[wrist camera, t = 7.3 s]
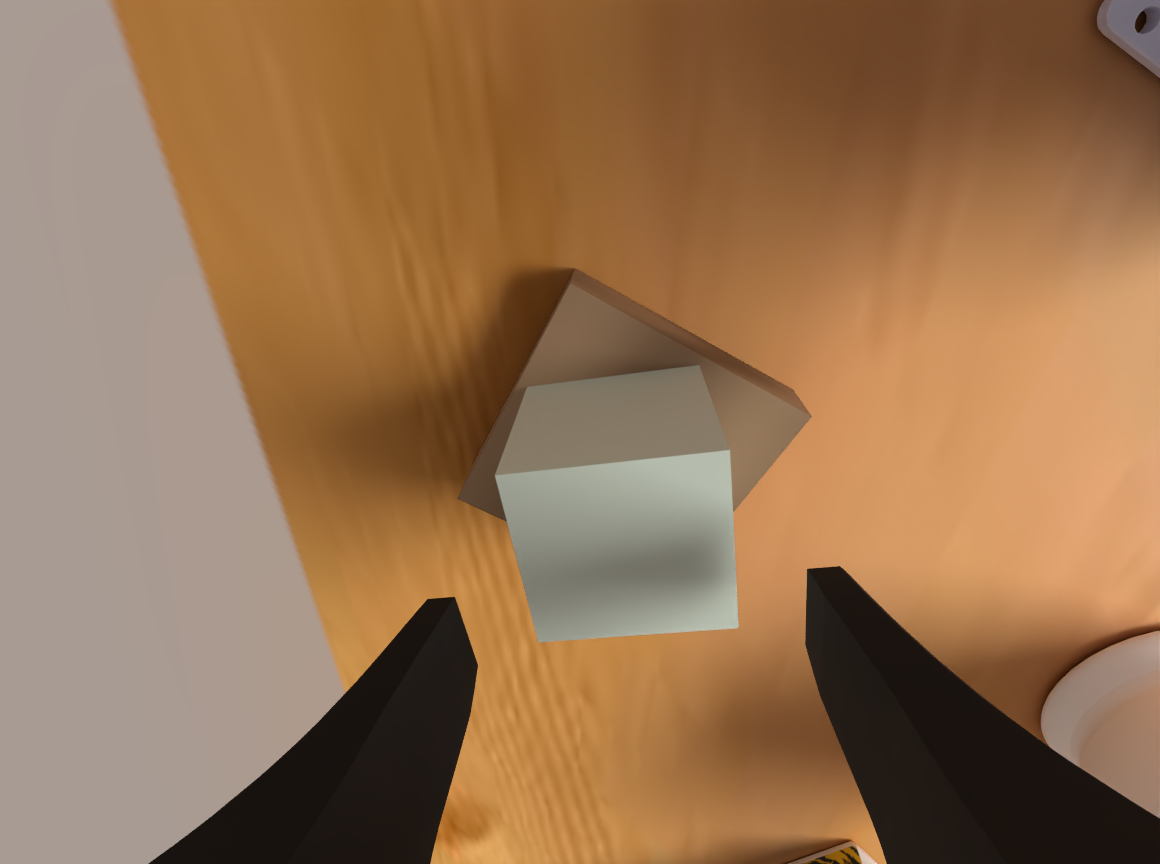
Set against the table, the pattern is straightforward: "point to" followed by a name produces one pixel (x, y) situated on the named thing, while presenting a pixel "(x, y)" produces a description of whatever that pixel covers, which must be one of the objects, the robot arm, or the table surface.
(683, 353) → the walnut plinth
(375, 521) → the table surface
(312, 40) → the table surface
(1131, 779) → the jar
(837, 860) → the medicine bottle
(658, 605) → the painted cube
